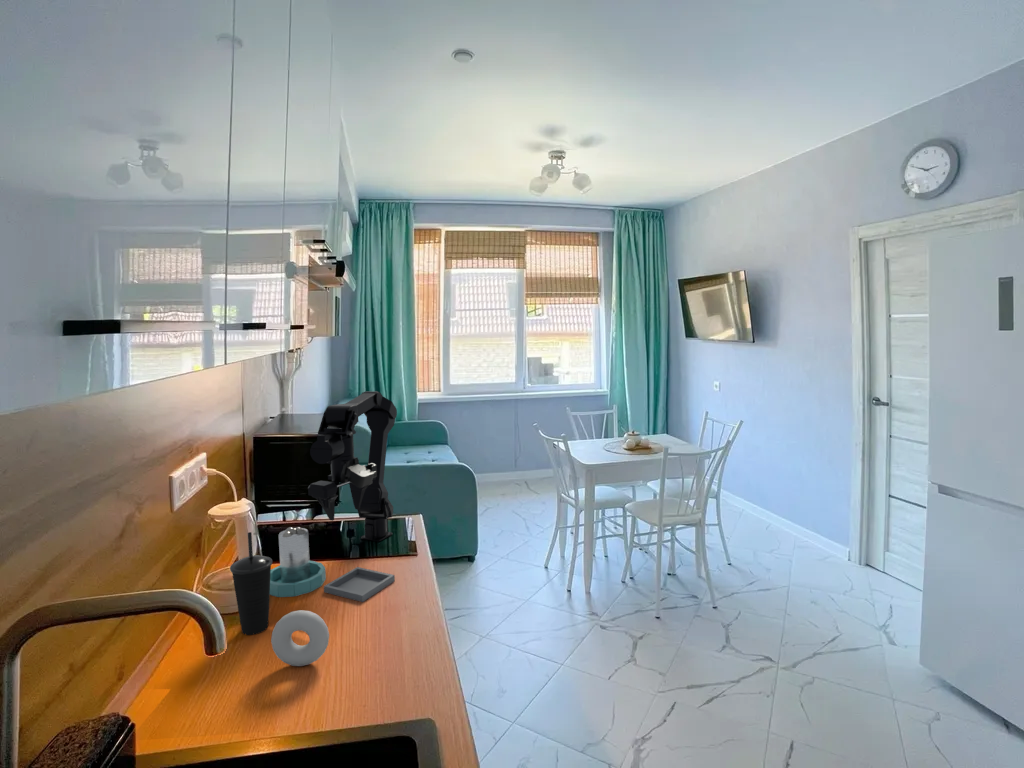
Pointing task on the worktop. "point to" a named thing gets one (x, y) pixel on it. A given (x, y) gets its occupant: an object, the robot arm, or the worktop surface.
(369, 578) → the parts tray
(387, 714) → the worktop surface
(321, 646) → the donut
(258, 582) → the drinking cup
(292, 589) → the bowl
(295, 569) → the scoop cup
